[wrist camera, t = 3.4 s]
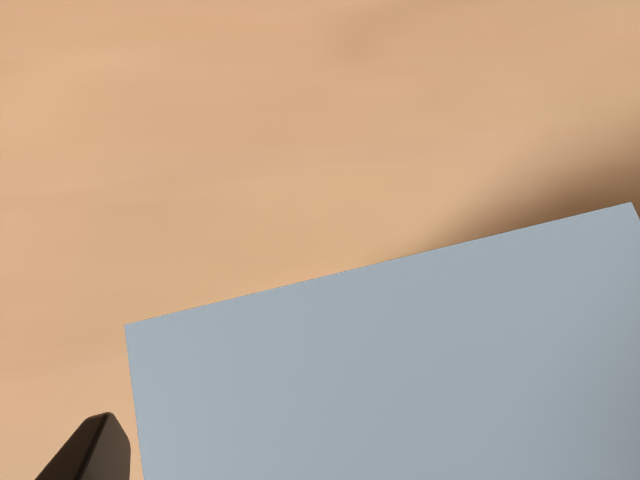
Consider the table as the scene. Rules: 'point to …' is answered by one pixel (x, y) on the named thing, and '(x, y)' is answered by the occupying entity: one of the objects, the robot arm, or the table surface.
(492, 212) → the table surface
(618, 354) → the grey-topped block
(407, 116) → the table surface
